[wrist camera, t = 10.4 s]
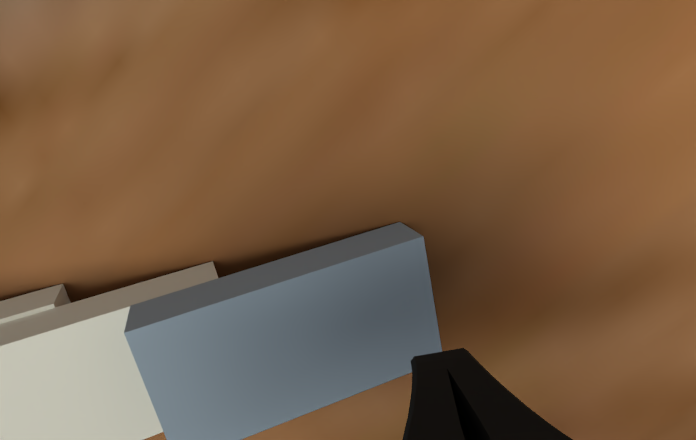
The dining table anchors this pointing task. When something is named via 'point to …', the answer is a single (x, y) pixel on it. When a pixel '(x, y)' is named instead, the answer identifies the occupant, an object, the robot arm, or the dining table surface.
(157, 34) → the dining table surface
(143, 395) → the ivory tile
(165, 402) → the slate tile
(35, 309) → the tile
